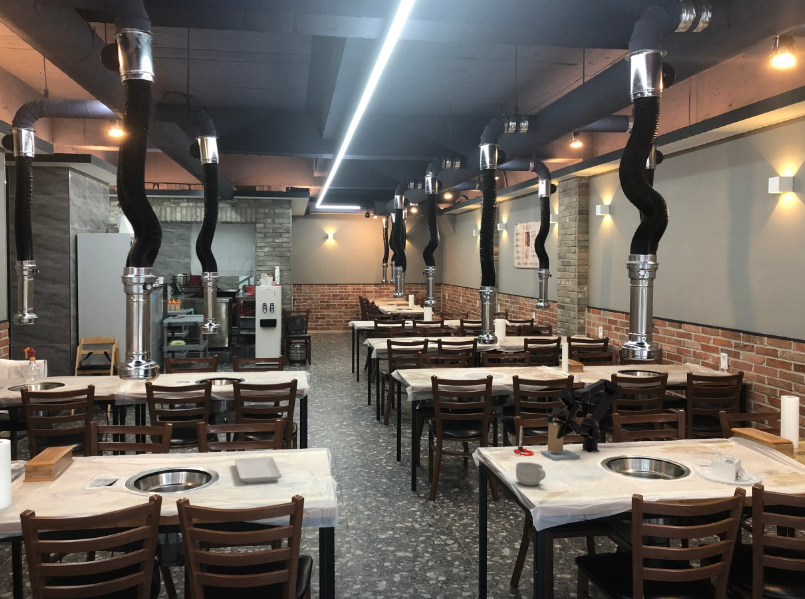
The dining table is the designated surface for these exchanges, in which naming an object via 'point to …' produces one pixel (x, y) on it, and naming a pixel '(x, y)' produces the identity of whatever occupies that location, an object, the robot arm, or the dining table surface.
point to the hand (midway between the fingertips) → (553, 437)
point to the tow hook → (522, 447)
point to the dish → (728, 472)
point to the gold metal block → (555, 437)
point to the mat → (560, 455)
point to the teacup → (529, 473)
